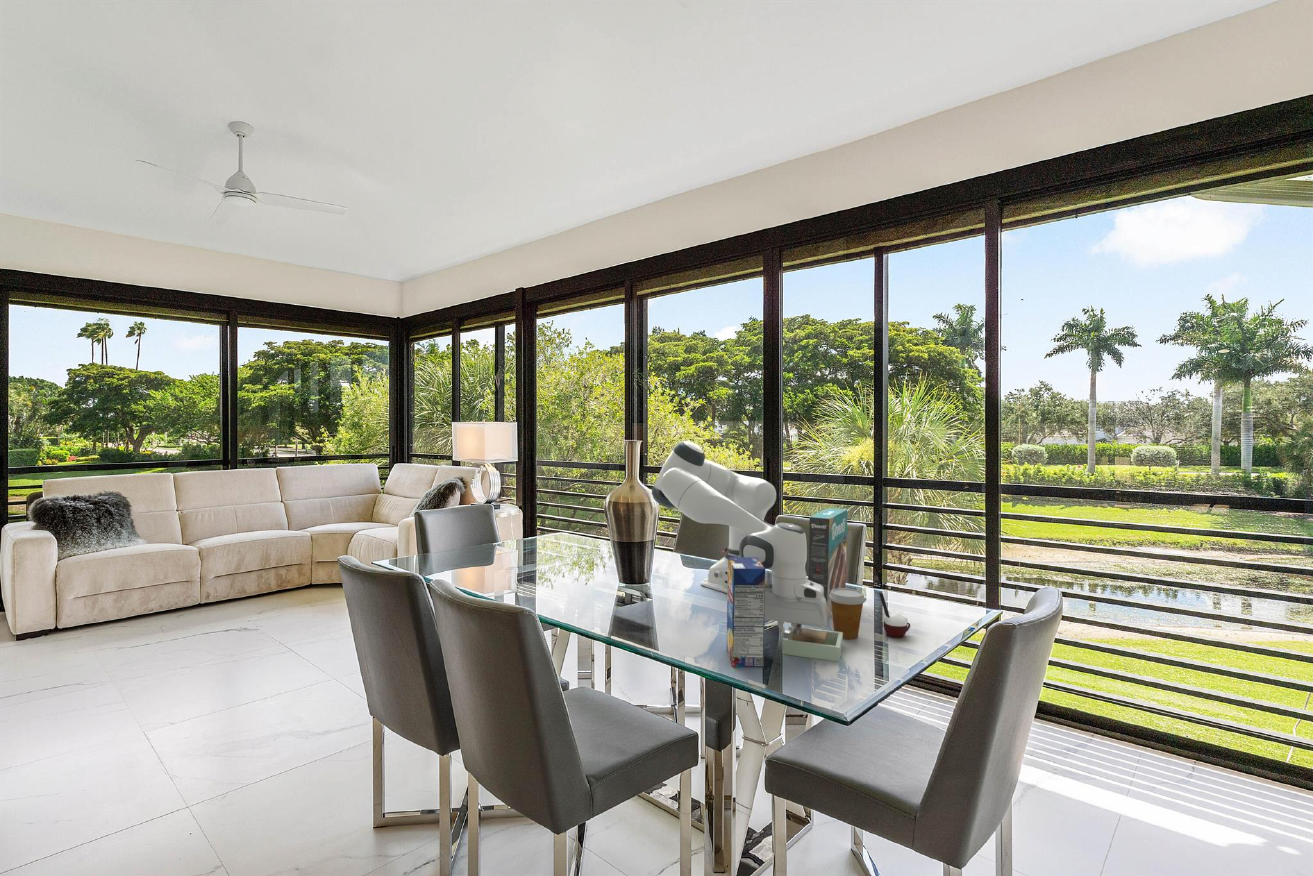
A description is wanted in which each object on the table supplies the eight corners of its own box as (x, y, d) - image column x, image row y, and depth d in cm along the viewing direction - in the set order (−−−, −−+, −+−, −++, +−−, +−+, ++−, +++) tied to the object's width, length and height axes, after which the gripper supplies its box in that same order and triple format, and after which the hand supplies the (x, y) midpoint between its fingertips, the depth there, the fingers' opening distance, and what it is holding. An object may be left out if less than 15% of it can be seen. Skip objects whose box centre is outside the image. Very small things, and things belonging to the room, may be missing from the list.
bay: (782, 653, 166) (782, 640, 166) (789, 638, 177) (789, 625, 177) (839, 661, 161) (839, 647, 161) (842, 645, 172) (842, 632, 172)
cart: (790, 650, 167) (793, 628, 166) (795, 640, 174) (797, 619, 174) (822, 657, 164) (825, 634, 164) (826, 646, 171) (828, 625, 171)
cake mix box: (827, 619, 194) (829, 518, 193) (807, 615, 197) (809, 516, 196) (845, 600, 213) (847, 509, 212) (826, 597, 216) (829, 507, 215)
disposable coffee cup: (821, 632, 182) (822, 589, 182) (848, 627, 186) (849, 586, 186) (843, 643, 174) (844, 598, 173) (871, 638, 177) (872, 595, 177)
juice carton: (726, 649, 168) (728, 557, 167) (755, 649, 168) (757, 557, 167) (732, 667, 156) (734, 568, 155) (763, 668, 156) (765, 568, 155)
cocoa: (908, 634, 183) (911, 591, 183) (913, 641, 177) (916, 597, 176) (873, 630, 184) (876, 588, 184) (877, 637, 178) (880, 593, 178)
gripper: (746, 584, 171) (745, 636, 171) (827, 593, 164) (825, 647, 164) (751, 579, 177) (750, 629, 177) (829, 587, 170) (827, 639, 170)
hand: (787, 638), depth 171 cm, fingers closed
